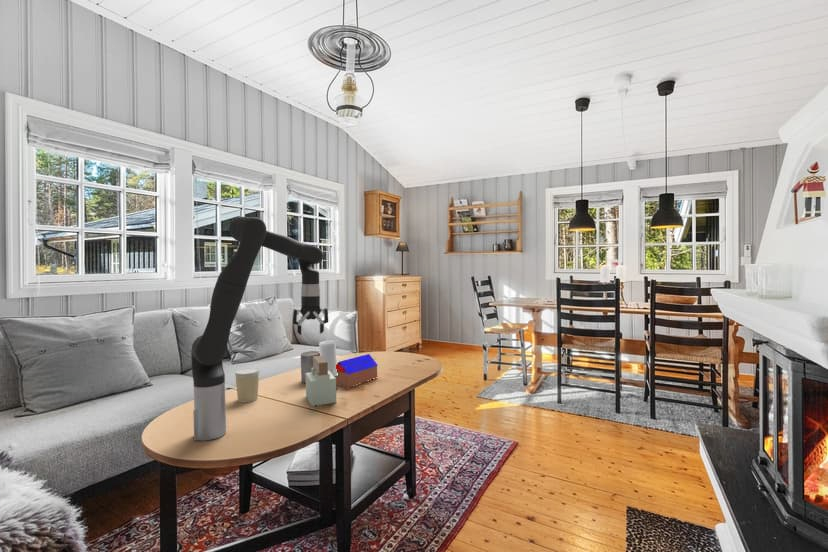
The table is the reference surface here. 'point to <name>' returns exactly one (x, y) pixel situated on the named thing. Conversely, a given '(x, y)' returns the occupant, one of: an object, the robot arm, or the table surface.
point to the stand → (320, 388)
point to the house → (356, 370)
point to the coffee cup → (247, 384)
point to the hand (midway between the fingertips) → (310, 333)
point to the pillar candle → (307, 363)
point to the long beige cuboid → (320, 365)
